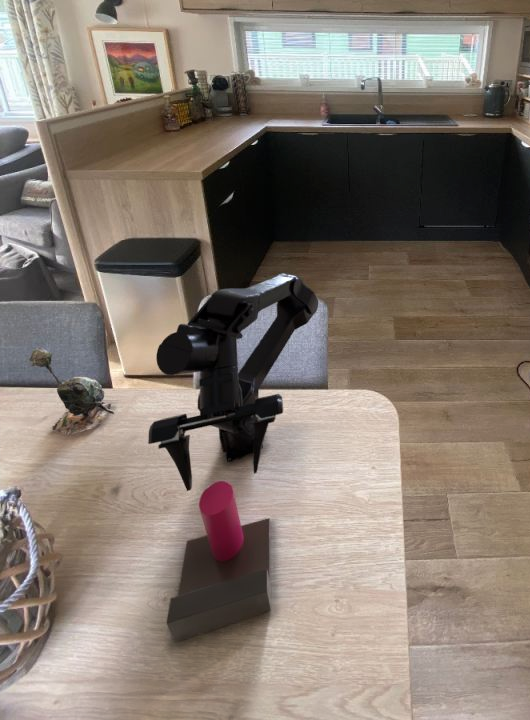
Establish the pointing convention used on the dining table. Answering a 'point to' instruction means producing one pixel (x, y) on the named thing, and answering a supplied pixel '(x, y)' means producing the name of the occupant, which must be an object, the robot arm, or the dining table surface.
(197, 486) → the dining table surface
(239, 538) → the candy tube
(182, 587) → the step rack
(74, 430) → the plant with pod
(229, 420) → the robot arm
